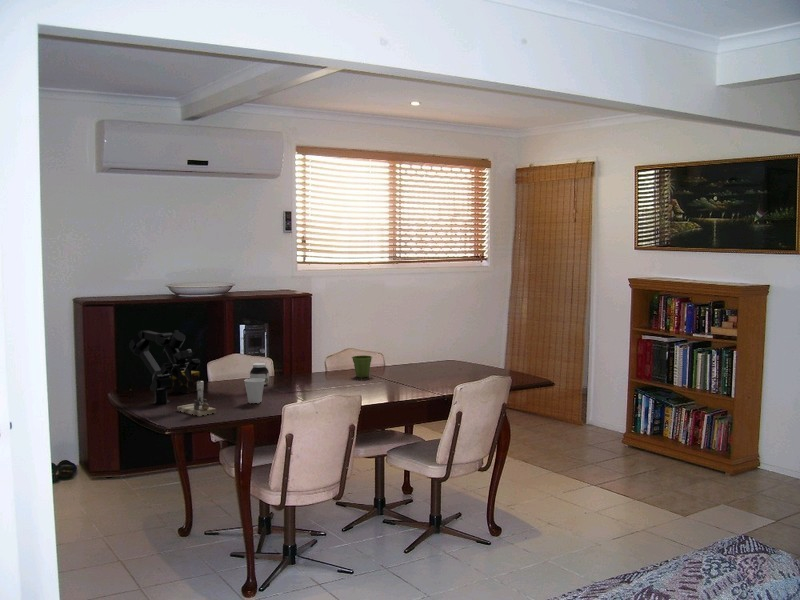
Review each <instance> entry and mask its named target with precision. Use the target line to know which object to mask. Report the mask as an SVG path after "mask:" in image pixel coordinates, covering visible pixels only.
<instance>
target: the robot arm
mask: <svg viewBox="0 0 800 600" xmlns="http://www.w3.org/2000/svg"><path fill="white" fill-rule="evenodd" d="M185 340H186V335H185V334H184V333H183V332H180V331H179V330H178V329H176V330H173V332H162V333H161V332H158V331H153V330H149V329H147V330H140V331H139V332H138V333H137V334H136V335H135V336H134V337H132V339H131V340H130V342H129V344H128V347H129V349H130V351H131V352H132V353H133V354H134V355H136V356H138V357H140V359H141V360H142V362H143V363H144V364H143V365H145V367H146V368H147V370H148V371H149V372H150V374H151V376H152V378H151V379H152V380H151V381H152V382H151V384H150V386H149V389H150V392H153V393H154V401H153V402H152V404H153V405H167V404H168V403H169V402H170V400H168V391H169V390H172V388H173V380H172V375H173V376H175V377H177V378H178V379H180V380H182V381H183V382H185V378H184V376H183V374H182V372H181V371H182V370H181V369H184V370H185V371H184V370H183V371H184V374H185V375H186V376H187V378H188V379H189V380H190V381H192V375H191V371H197V369H198V368H199V366H200V365H201V360H200V359H199V358H193V359H190V360H189V362H188V358H191V356H193V351H192V349H191V348H188V349H186V350H179V349H180V348H181V347H182V345H183V344H184V342H185ZM151 341H152V342H155V343H156V345H158V346H164V347H163V350H162V354H163V355H165V354H166V356H167V357H168V362H164V363H163V365H162V367H161V366H159V364H158V363H157V361H156V360H155V358H154V356H153V355H152V354H151V352H150V350H149V349H150V345H151ZM169 371H170V372H169Z"/></svg>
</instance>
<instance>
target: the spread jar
mask: <svg viewBox="0 0 800 600" xmlns="http://www.w3.org/2000/svg"><path fill="white" fill-rule="evenodd" d="M269 371H270V370H269V369H268V368H267V364H266V363H264V362H256V363H253V364H252V368H251V370H250V371H249V379H251V378H261V379H265V381H264V387H266V386H267V385H268V384H269V382H270V372H269Z"/></svg>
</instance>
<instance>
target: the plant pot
mask: <svg viewBox="0 0 800 600" xmlns="http://www.w3.org/2000/svg"><path fill="white" fill-rule="evenodd" d="M351 359H352V362H353V368H354V372H355V377H356V378H362V379H363V378H368V377H369V376H370V369H371V363H372V359H373V356H372V355H353V356H351Z"/></svg>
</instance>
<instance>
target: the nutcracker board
mask: <svg viewBox="0 0 800 600" xmlns="http://www.w3.org/2000/svg"><path fill="white" fill-rule="evenodd" d="M203 401H204V404H203V405H202V406H199V401H198V399H193V403H189V404H185V405H184V404H183V405H179V406H178V405H177V409H176V410H177V412H180V411H181V412H180V413H184V412H185V413H184V414H188V415H192V414H193V415H192V416H195V415H197V417H203V416H202V415H204V416H208V415H207V414H209V415H213V414H212V413H214V414H217V408H214V407H210V404H209V403H208V399H206V398H203Z"/></svg>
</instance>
